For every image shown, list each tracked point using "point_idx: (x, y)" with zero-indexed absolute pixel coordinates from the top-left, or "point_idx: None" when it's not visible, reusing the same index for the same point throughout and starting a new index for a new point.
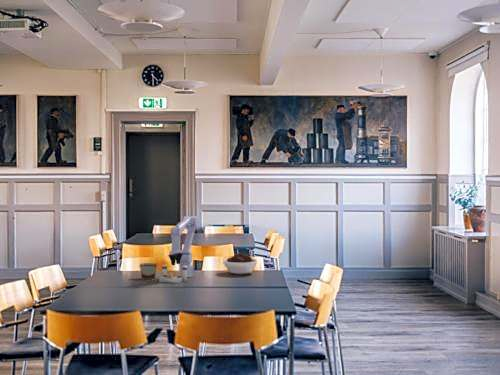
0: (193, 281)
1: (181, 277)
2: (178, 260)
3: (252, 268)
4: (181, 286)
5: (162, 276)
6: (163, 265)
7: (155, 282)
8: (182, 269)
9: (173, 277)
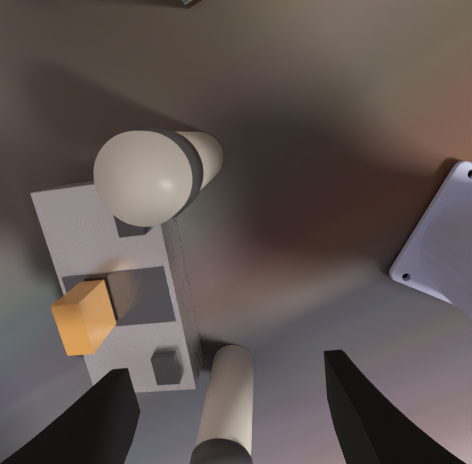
0: None
1: (169, 388)
2: (348, 447)
3: None
4: (18, 441)
5: (97, 194)
6: (97, 182)
7: (14, 172)
8: (195, 449)
9: (113, 333)
